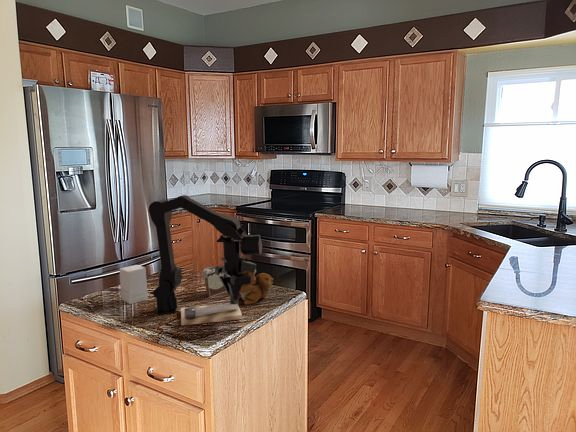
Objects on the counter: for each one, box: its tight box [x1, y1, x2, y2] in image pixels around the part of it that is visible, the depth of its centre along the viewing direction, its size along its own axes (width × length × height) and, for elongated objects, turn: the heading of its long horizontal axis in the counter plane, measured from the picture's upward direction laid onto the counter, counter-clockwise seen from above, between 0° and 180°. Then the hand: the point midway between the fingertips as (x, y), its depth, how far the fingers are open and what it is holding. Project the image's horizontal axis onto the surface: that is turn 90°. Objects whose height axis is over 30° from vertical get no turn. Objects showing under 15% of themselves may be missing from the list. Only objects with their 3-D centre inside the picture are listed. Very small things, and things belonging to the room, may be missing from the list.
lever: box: [184, 288, 240, 319], centre depth 151 cm, size 19×4×8 cm, turn 116°
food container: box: [201, 265, 227, 298], centre depth 177 cm, size 12×6×10 cm, turn 141°
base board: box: [180, 304, 243, 326], centre depth 154 cm, size 20×12×2 cm, turn 104°
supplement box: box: [119, 264, 149, 305], centre depth 170 cm, size 7×7×13 cm
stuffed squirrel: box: [238, 269, 274, 305], centre depth 169 cm, size 10×14×13 cm
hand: (233, 298), depth 155 cm, fingers open, 4 cm apart
